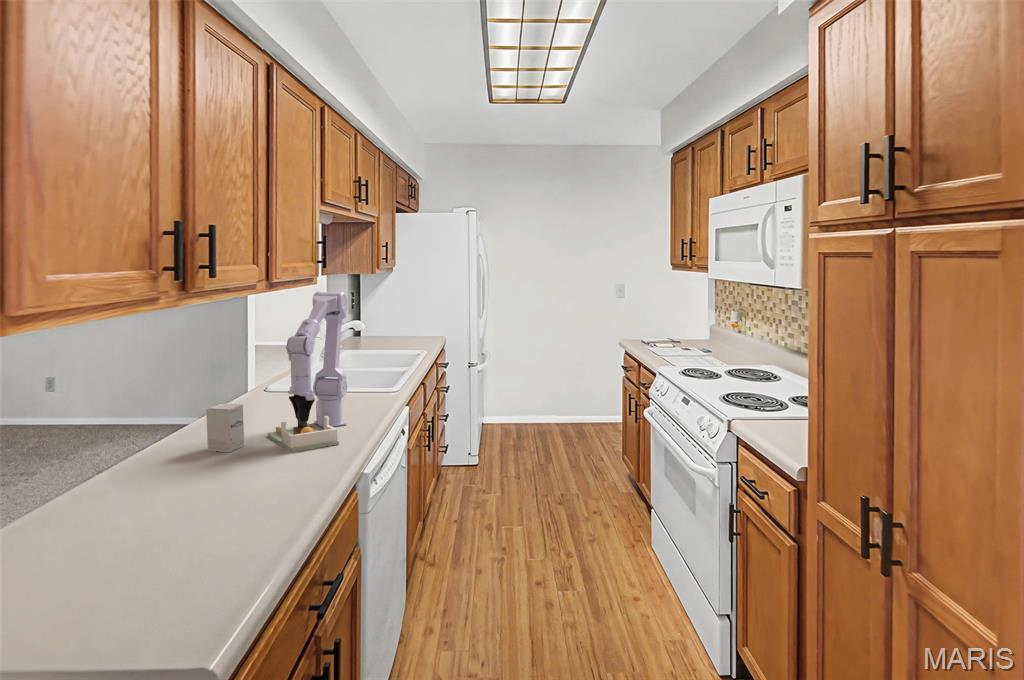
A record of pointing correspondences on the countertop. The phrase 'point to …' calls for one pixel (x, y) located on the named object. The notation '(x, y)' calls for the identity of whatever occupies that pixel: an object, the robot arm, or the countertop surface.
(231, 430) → the supplement box
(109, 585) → the countertop surface
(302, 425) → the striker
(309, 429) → the ball
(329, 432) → the pitch
